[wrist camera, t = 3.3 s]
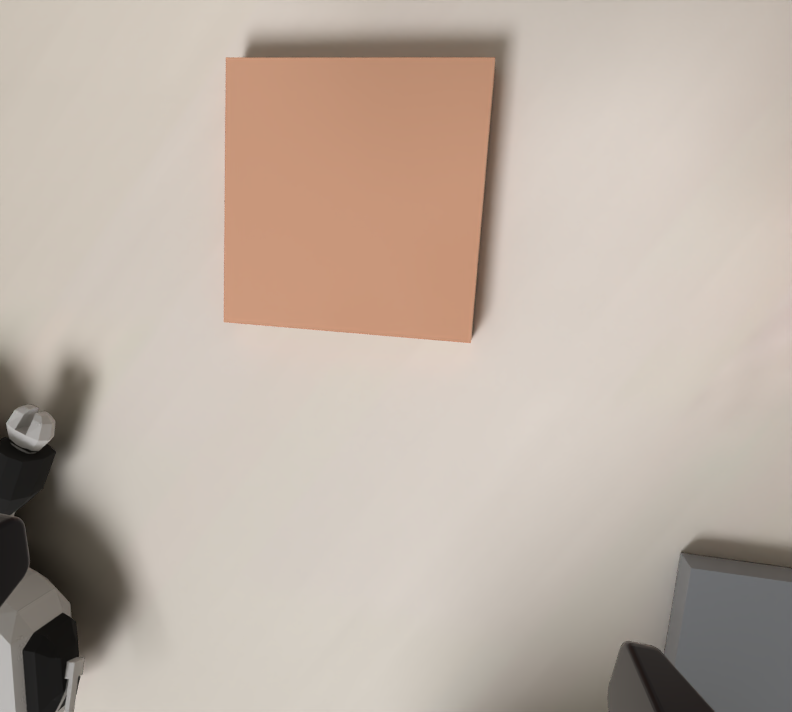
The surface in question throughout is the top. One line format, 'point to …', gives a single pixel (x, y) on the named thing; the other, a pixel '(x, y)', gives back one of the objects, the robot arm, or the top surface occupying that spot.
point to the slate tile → (733, 633)
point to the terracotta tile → (356, 193)
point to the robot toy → (34, 587)
